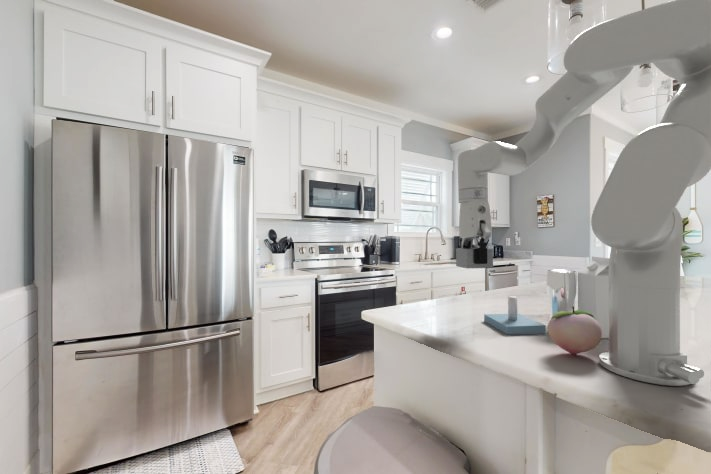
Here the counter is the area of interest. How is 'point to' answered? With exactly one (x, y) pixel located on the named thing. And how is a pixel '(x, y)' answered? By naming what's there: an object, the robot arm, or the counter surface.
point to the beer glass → (561, 290)
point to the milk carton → (595, 291)
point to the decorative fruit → (575, 331)
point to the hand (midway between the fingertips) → (474, 262)
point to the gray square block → (472, 258)
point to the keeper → (514, 321)
